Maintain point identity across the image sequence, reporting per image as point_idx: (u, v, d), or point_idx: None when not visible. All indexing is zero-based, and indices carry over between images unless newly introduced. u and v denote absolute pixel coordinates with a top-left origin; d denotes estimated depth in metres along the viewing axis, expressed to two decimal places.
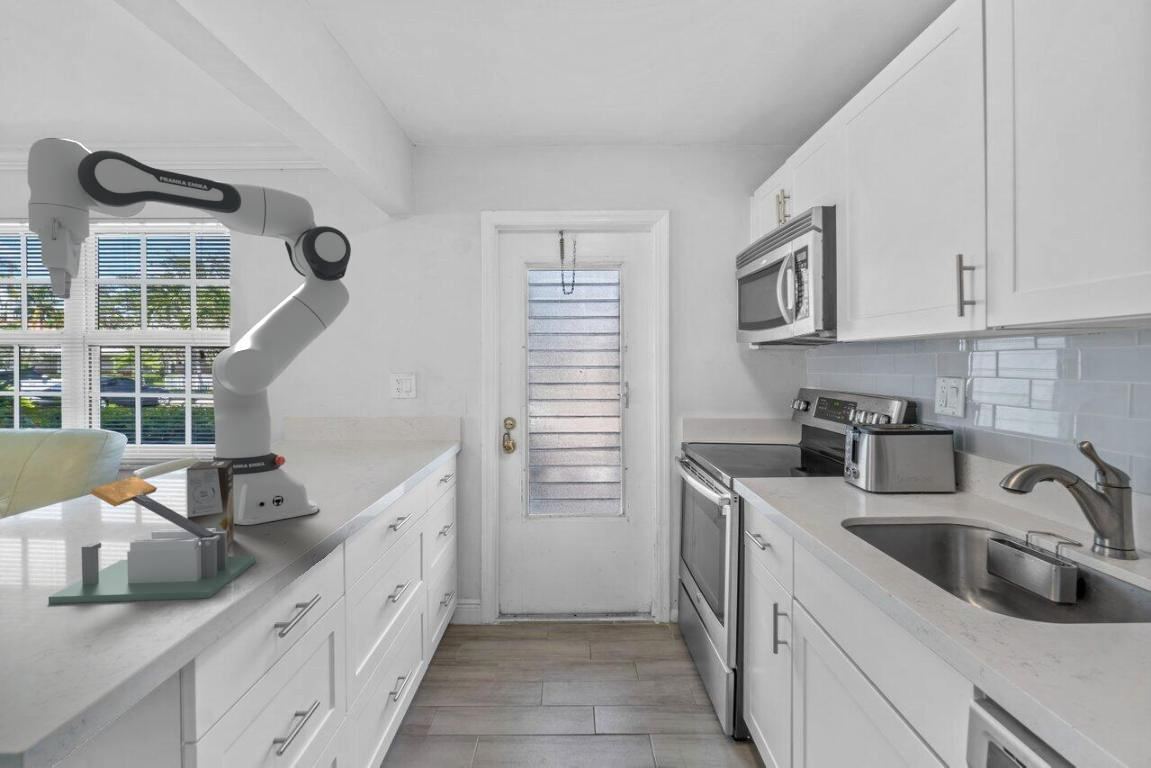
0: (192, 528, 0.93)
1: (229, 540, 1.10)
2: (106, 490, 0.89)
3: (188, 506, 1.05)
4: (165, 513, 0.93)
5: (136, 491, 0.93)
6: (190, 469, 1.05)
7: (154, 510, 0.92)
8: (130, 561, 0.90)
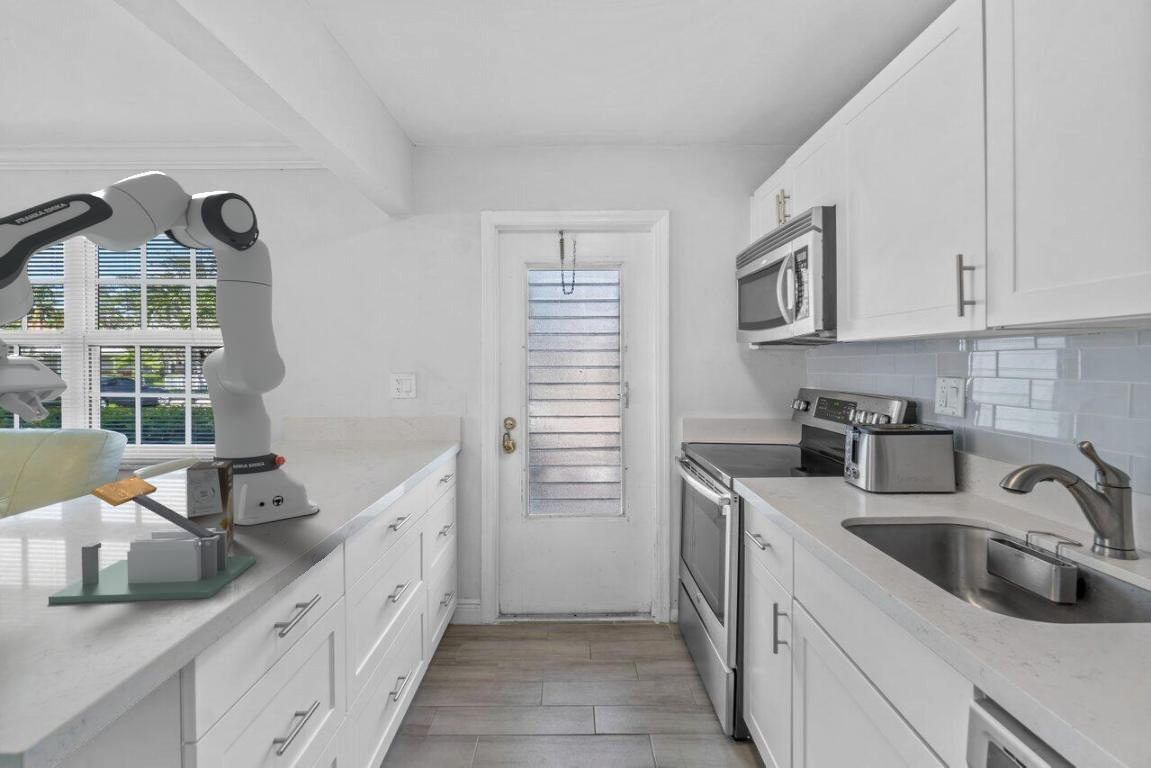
0: (192, 528, 0.93)
1: (229, 540, 1.10)
2: (106, 490, 0.89)
3: (188, 506, 1.05)
4: (165, 513, 0.93)
5: (136, 491, 0.93)
6: (190, 469, 1.05)
7: (154, 510, 0.92)
8: (130, 561, 0.90)
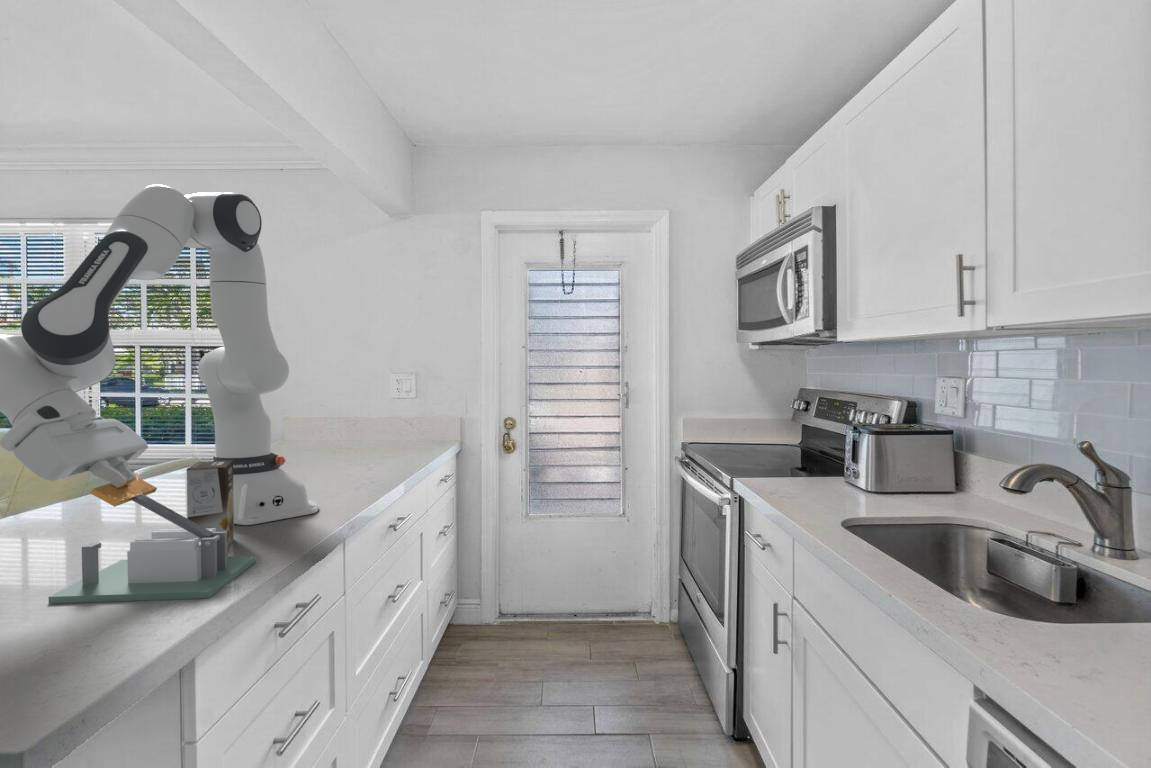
0: (192, 528, 0.93)
1: (229, 540, 1.10)
2: (106, 490, 0.89)
3: (188, 506, 1.05)
4: (165, 513, 0.93)
5: (136, 491, 0.93)
6: (190, 469, 1.05)
7: (154, 510, 0.92)
8: (130, 561, 0.90)
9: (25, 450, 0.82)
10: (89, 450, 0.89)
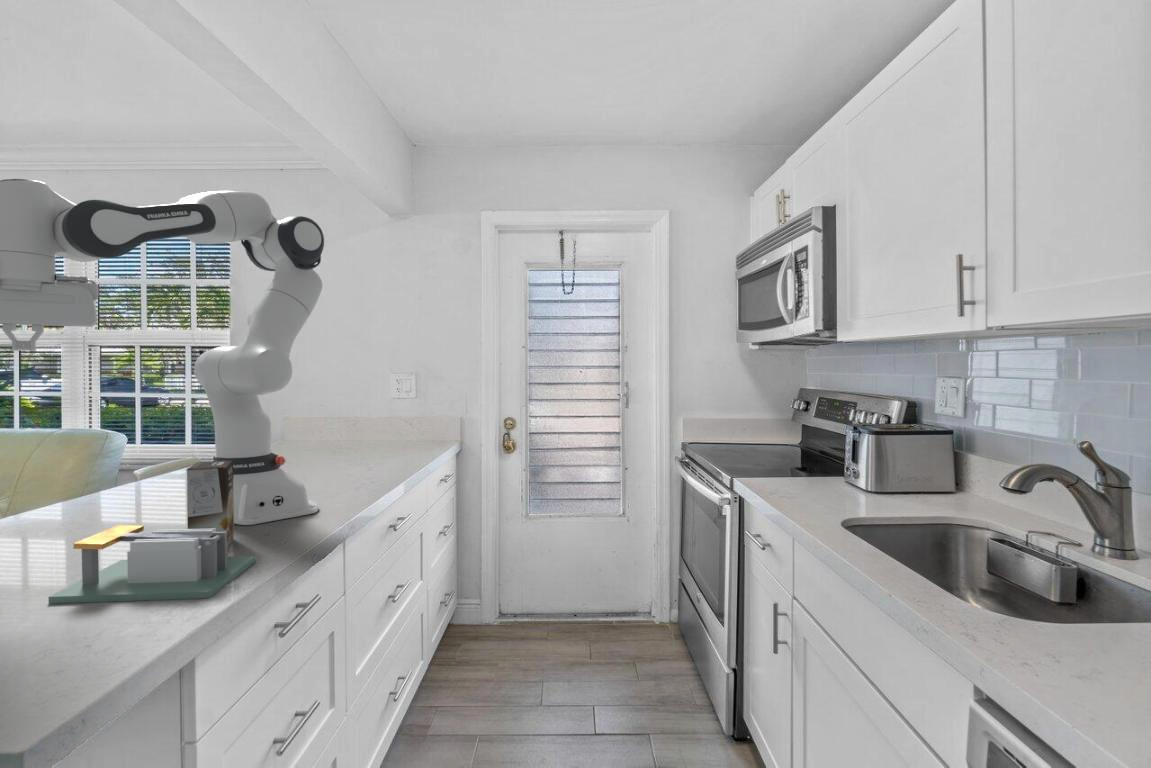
0: None
1: (229, 540, 1.10)
2: (88, 540, 0.89)
3: (188, 506, 1.05)
4: (156, 538, 0.93)
5: (121, 533, 0.93)
6: (190, 469, 1.05)
7: None
8: (130, 561, 0.90)
9: None
10: None
